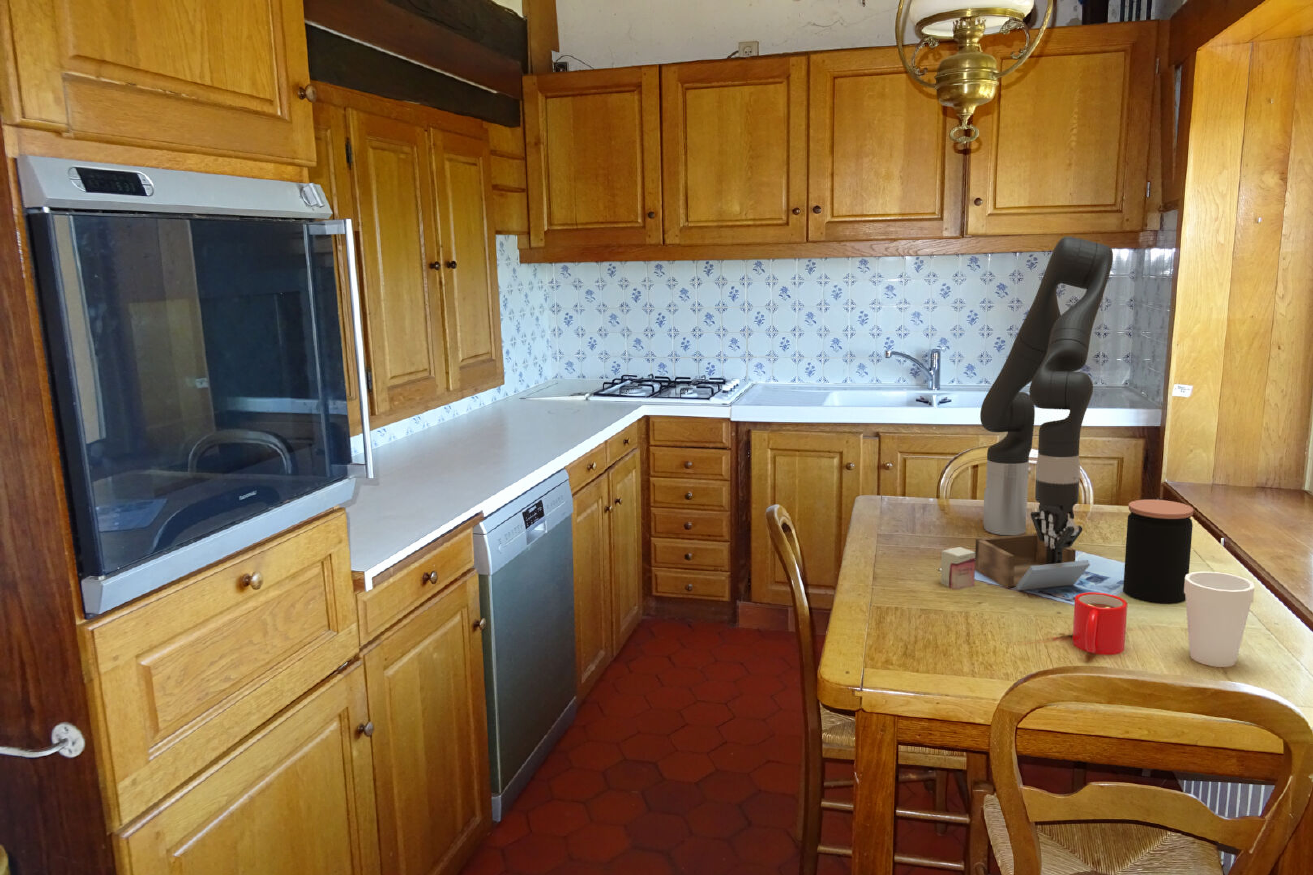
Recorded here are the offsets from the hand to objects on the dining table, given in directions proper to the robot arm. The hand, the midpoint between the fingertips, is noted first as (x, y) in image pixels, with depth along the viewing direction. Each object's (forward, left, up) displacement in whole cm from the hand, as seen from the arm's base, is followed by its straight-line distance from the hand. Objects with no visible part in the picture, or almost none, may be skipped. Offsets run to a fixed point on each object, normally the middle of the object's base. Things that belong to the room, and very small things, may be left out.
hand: (1053, 566), depth 174 cm
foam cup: (+31, +7, -6) cm, 33 cm away
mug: (+23, -8, -6) cm, 26 cm away
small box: (-9, -15, -6) cm, 18 cm away
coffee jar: (+6, +17, -6) cm, 19 cm away
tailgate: (-3, 0, -5) cm, 6 cm away
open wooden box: (-10, 0, -6) cm, 11 cm away
